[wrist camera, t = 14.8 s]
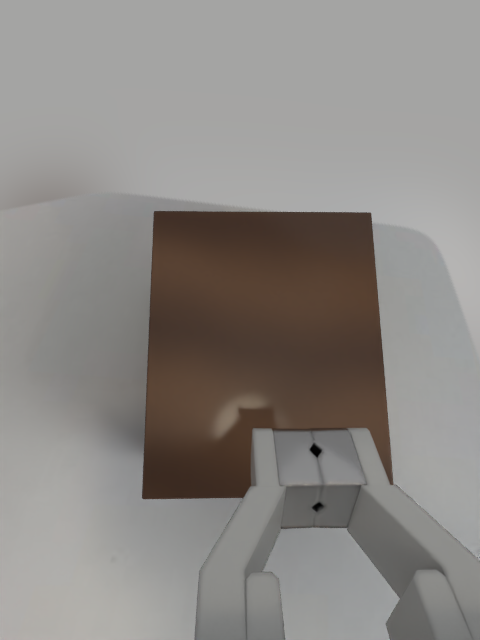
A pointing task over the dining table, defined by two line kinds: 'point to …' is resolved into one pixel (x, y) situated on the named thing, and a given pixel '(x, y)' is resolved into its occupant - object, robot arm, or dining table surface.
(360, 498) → the robot arm
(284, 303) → the lid
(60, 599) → the dining table surface
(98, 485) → the dining table surface
